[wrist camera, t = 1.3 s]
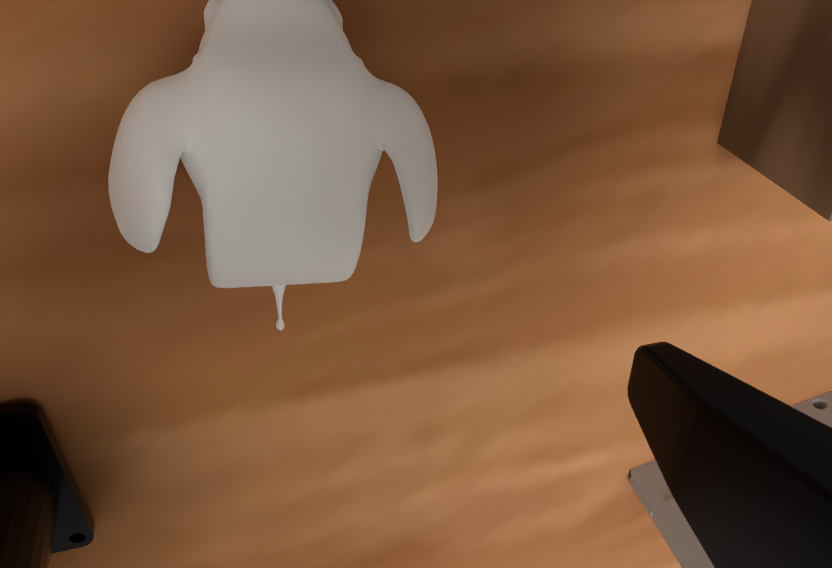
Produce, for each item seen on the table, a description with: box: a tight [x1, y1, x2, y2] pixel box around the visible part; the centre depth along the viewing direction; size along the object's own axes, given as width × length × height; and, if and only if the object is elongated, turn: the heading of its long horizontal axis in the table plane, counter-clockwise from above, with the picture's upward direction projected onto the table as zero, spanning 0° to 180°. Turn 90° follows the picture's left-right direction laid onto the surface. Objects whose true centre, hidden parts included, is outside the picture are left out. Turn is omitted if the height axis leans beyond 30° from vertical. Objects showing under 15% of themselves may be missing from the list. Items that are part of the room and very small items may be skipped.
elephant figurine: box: [108, 0, 438, 331], centre depth 16 cm, size 7×8×6 cm
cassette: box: [630, 391, 832, 568], centre depth 29 cm, size 12×2×8 cm, turn 103°
